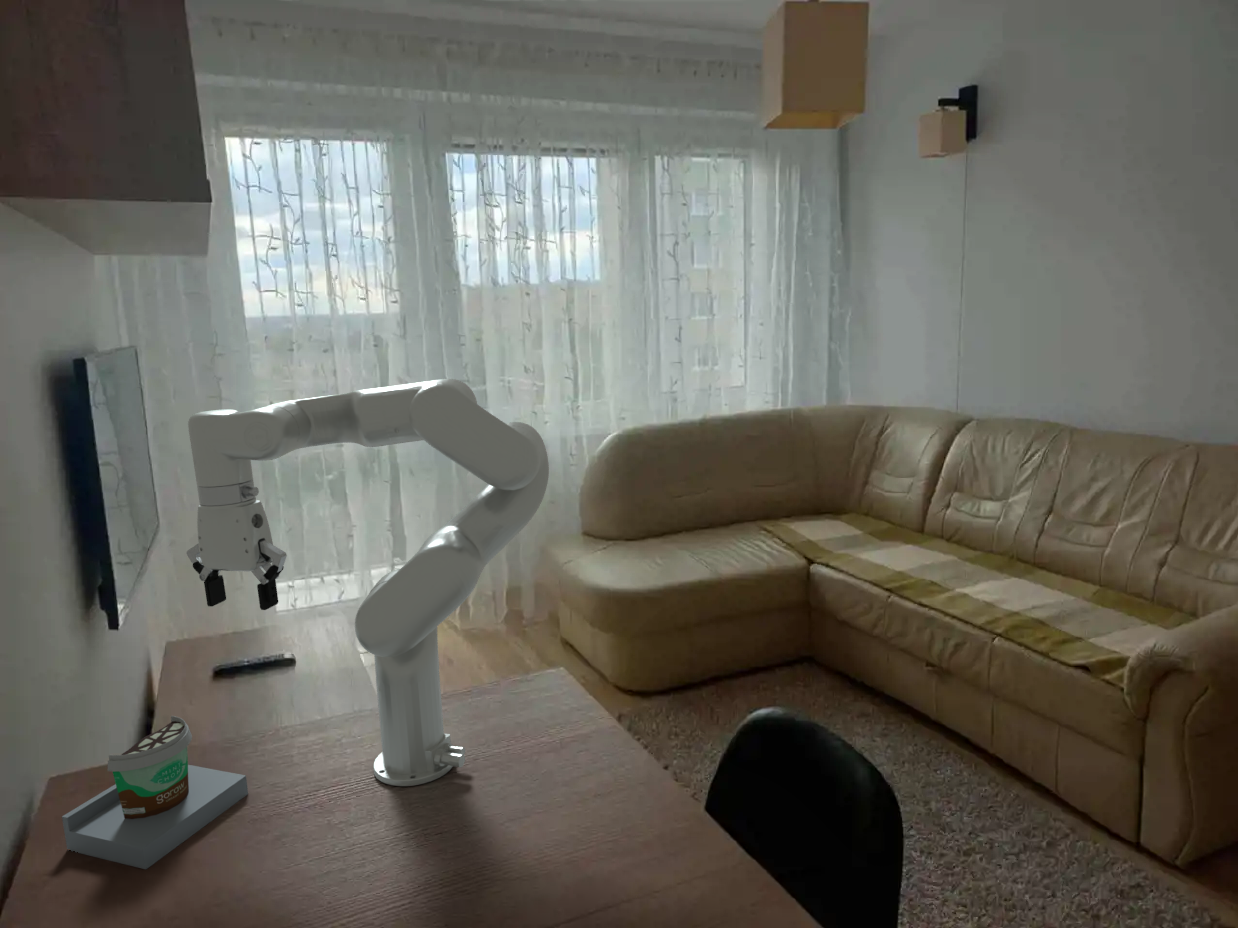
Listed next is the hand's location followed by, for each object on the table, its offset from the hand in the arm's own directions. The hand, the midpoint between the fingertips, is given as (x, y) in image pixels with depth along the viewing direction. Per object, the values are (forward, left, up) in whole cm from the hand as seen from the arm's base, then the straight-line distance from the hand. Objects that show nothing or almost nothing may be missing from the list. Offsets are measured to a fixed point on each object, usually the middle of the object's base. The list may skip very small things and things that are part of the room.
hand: (243, 605), depth 126 cm
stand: (+5, +14, -28) cm, 31 cm away
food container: (+4, +14, -25) cm, 29 cm away
